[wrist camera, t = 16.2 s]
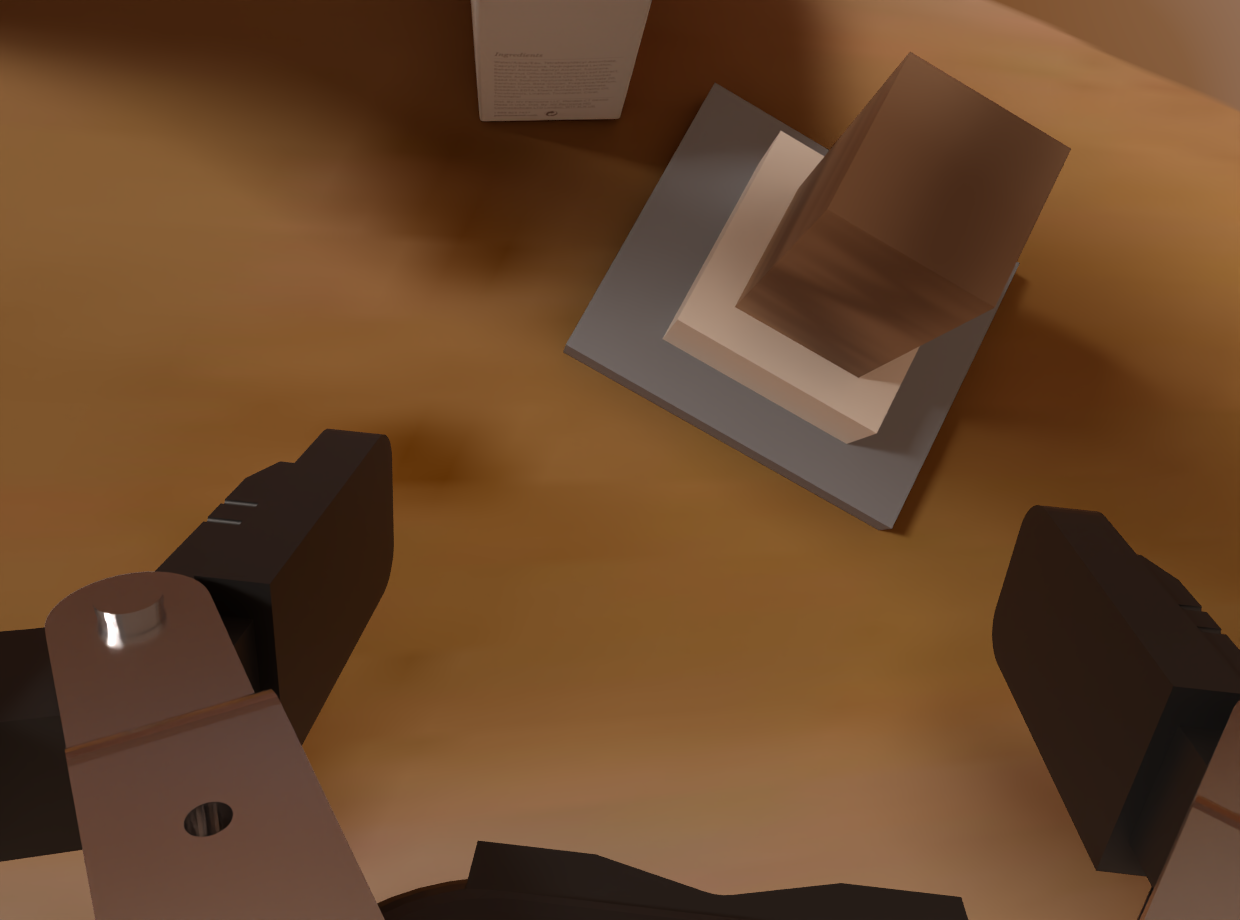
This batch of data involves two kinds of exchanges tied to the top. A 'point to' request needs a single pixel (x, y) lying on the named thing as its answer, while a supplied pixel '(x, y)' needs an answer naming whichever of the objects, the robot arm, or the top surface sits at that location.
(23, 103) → the top surface
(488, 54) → the small box
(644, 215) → the plate
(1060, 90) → the top surface
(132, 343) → the top surface
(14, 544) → the top surface
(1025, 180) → the walnut block
